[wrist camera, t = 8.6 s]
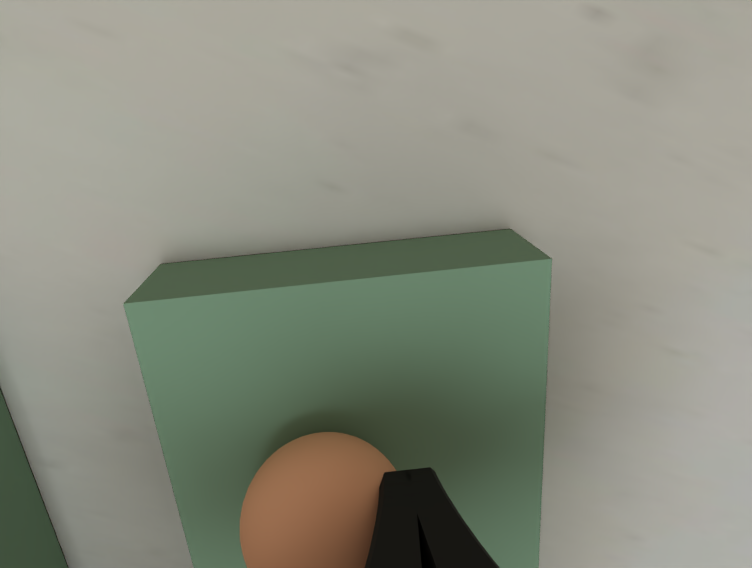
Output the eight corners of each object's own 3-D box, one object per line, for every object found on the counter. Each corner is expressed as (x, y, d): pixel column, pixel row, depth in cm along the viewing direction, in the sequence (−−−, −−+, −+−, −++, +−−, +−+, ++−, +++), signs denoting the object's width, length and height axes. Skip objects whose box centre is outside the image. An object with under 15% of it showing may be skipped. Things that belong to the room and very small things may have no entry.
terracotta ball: (437, 558, 14) (365, 697, 10) (310, 518, 16) (213, 625, 12) (433, 419, 13) (352, 520, 9) (298, 393, 15) (189, 471, 11)
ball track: (505, 628, 22) (532, 709, 19) (28, 700, 20) (-19, 797, 18) (510, 229, 16) (552, 259, 13) (-163, 296, 14) (-281, 346, 12)
